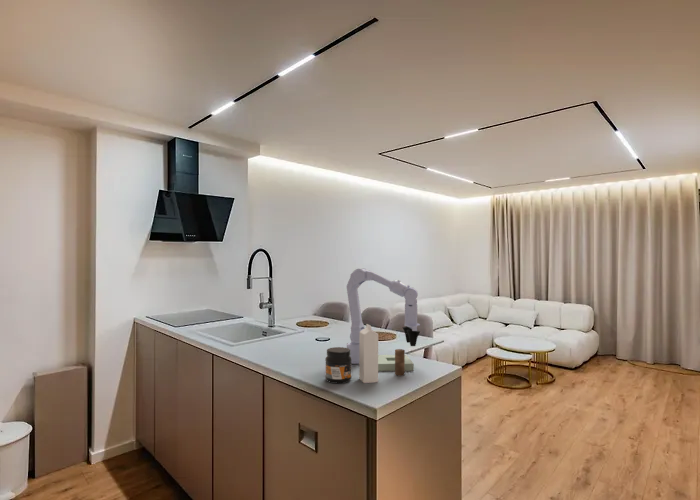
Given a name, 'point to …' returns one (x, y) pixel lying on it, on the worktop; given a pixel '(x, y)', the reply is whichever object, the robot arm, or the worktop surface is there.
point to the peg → (399, 362)
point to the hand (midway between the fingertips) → (410, 344)
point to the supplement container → (338, 365)
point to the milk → (368, 355)
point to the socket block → (392, 363)
